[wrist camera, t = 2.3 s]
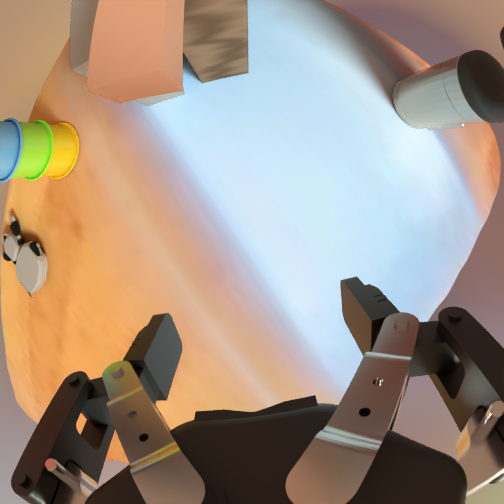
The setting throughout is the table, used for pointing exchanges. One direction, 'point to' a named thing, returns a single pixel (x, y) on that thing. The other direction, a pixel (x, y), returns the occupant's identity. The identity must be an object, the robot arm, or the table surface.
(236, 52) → the walnut post
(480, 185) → the table surface
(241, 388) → the table surface
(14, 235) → the robot toy
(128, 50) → the terracotta bar
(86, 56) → the taupe pedestal
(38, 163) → the stacking cups
